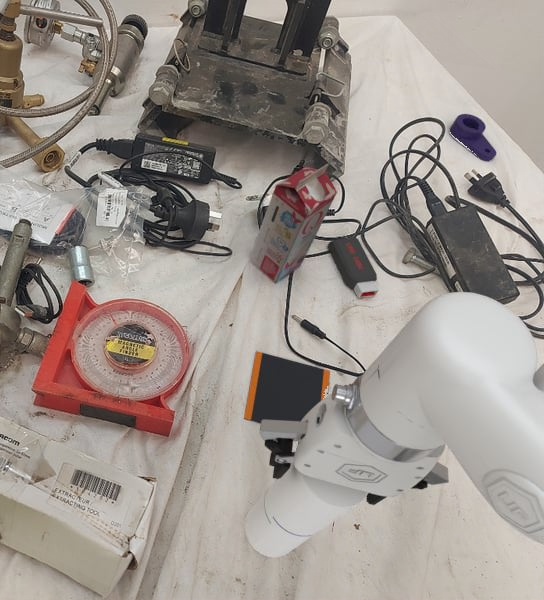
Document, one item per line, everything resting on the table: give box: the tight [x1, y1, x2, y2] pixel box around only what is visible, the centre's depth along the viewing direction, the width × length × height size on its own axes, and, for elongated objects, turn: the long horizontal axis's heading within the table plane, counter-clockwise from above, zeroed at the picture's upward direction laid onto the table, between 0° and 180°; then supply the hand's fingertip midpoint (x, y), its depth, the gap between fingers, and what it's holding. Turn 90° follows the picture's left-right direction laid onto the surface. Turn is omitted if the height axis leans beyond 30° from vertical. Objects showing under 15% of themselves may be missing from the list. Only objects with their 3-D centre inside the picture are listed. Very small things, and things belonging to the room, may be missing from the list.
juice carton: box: [248, 163, 338, 285], centre depth 94 cm, size 7×7×22 cm
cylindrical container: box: [243, 463, 368, 559], centre depth 67 cm, size 7×7×25 cm
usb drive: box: [326, 236, 380, 299], centre depth 103 cm, size 5×12×3 cm, turn 11°
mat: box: [243, 350, 331, 424], centre depth 89 cm, size 12×12×1 cm
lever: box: [449, 113, 497, 162], centre depth 126 cm, size 12×6×3 cm, turn 22°
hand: (323, 477), depth 59 cm, fingers open, 9 cm apart
